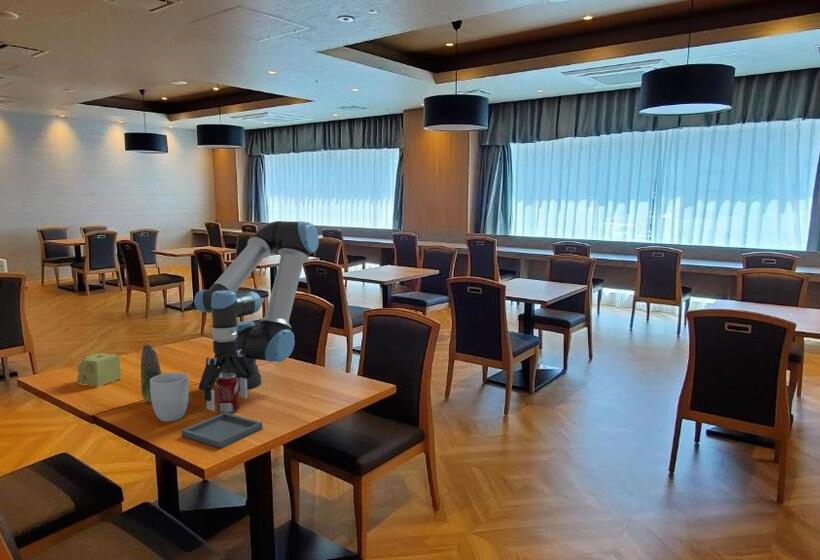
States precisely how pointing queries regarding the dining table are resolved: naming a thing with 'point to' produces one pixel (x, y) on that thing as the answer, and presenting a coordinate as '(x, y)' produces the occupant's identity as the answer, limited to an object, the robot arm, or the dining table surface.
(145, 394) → the vegetable
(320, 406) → the dining table surface
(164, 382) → the mug
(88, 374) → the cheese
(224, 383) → the soda can
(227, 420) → the tray
